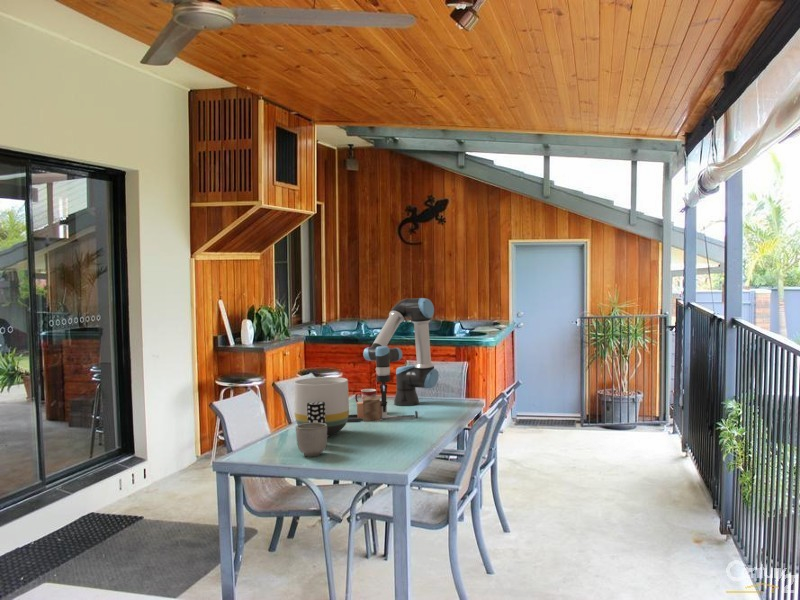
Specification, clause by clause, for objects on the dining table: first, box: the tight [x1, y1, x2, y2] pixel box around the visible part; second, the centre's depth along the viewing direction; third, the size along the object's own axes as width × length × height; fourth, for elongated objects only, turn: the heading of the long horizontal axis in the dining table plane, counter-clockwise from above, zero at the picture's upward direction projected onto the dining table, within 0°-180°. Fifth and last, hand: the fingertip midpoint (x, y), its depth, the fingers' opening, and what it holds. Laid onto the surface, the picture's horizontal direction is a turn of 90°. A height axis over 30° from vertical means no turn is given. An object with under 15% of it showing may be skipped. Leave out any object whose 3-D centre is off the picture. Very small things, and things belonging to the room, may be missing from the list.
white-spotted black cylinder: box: [307, 402, 326, 424], centre depth 326 cm, size 8×8×20 cm
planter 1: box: [293, 376, 350, 437], centre depth 350 cm, size 27×27×27 cm
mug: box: [355, 388, 377, 403], centre depth 403 cm, size 13×9×14 cm
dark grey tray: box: [347, 413, 361, 423], centre depth 386 cm, size 9×12×2 cm
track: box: [360, 410, 419, 421], centre depth 386 cm, size 31×5×3 cm, turn 93°
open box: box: [363, 395, 381, 423], centre depth 386 cm, size 9×12×12 cm
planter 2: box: [295, 423, 328, 458], centre depth 310 cm, size 14×14×13 cm
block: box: [356, 400, 382, 419], centre depth 386 cm, size 16×6×8 cm, turn 93°
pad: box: [381, 418, 414, 421], centre depth 387 cm, size 17×9×1 cm, turn 93°
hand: (384, 416), depth 386 cm, fingers closed on block, 5 cm apart
